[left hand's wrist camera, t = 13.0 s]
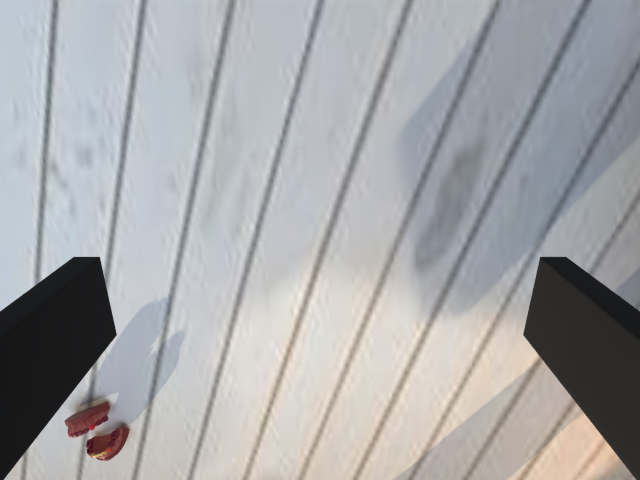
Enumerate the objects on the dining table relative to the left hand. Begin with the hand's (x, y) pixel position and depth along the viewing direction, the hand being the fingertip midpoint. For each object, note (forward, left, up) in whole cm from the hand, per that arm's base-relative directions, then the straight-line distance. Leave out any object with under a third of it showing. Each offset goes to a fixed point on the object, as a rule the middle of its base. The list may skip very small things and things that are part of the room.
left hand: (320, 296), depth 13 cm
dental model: (+7, +49, -33) cm, 59 cm away
